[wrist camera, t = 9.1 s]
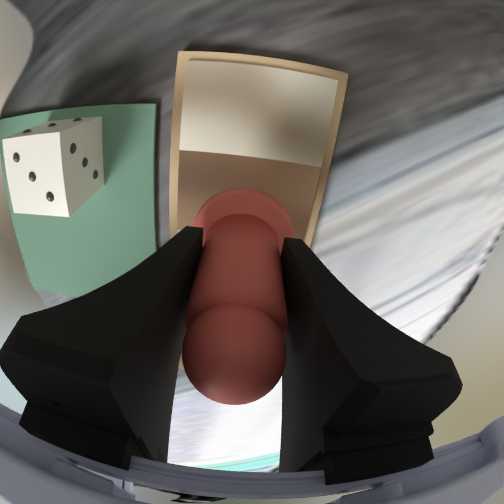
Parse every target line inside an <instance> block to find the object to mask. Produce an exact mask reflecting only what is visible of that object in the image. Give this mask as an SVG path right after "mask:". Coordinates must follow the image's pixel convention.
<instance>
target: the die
mask: <svg viewBox="0 0 504 504" xmlns="http://www.w3.org/2000/svg"><path fill="white" fill-rule="evenodd" d="M2 142H3V152H4V160H5V168H6V174H7V180H8V186H9V192H10V197H11V202H12V206H13V211H14V213H21V214H35V215H48V216H61V217H70V216H71V215H72V214H73V213H74V212H75V211H76V210H77V209H78V208H79V207H81V206H82V205H83V204H84V203H85V202H86V201H87V200H88V199H89V198H91V197H92V196H93V195H94V194H95V193H96V192H97V191H98V190H100V189H101V188H102V187H103V186H104V185H105V184H104V169H103V148H102V116H100V117H85V118H74V119H64V120H55V121H47V122H44V123H41V124H39V125H36V126H33V127H31V128H28V129H26V130H23V131H21V132H18V133H16V134H13V135H11V136H9V137H6V138H4V139H2Z"/></svg>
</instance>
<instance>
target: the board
mask: <svg viewBox="0 0 504 504" xmlns="http://www.w3.org/2000/svg"><path fill="white" fill-rule="evenodd" d="M348 75H349V74H348V73H344V72H341V71H337V70H333V69H328V68H324V67H320V66H315V65H311V64H306V63H300V62H295V61H290V60H284V59H277V58H271V57H263V56H255V55H246V54H236V53H223V52H203V51H179V52H178V60H177V69H176V79H175V89H174V101H173V115H172V131H171V151H170V188H169V228H170V239H171V238H172V237H174V236H175V235H176V234H177V233H178V232H179V231H181V230H182V229H183V228H184V227H186V226H193V223H194V220H195V218H196V215H197V213H198V211H199V209H200V208H201V206H202V205H203V204H204V203H205V202H206V201H207V200H208V199H209V198H210V197H212V196H213V195H215V194H217V193H219V192H221V191H224V190H227V189H231V188H239V187H245V188H253V189H257V190H260V191H263V192H265V193H267V194H269V195H271V196H272V197H274V198H275V199H276V200H278V201H279V202H280V203H281V204H282V205H283V207H284V208H285V210H286V211H287V213H288V215H289V217H290V220H291V224H292V229H293V233H294V238H296V239H302V240H303V241H304V242H305V243H306V244H307V246H308V247H309V248H310V245H311V241H312V237H313V234H314V230H315V226H316V222H317V218H318V214H319V210H320V206H321V202H322V198H323V194H324V190H325V186H326V182H327V177H328V173H329V169H330V164H331V160H332V155H333V151H334V146H335V142H336V137H337V132H338V127H339V123H340V118H341V113H342V107H343V102H344V97H345V92H346V86H347V81H348ZM178 369H179V370H184V366H183V362H182V351H181V356H180V360H179V366H178Z"/></svg>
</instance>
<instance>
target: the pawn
mask: <svg viewBox="0 0 504 504" xmlns="http://www.w3.org/2000/svg"><path fill="white" fill-rule="evenodd" d="M193 227H202V228H204V229H203V248H202V252H201V256H200V259H199V263H198V267H197V271H196V275H195V278H194V282H193V286H192V290H191V294H190V298H189V302H188V306H187V310H186V314H185V327H186V330H187V332H186V334H185V337H184V340H183V344H182V362H183V366H184V370H185V372H186V375H187V377H188V378H189V380H190V382H191V383H192V384H193V386H194V387H195V388H196V389H197V390H198V391H199V392H200V393H202V394H203V395H204V396H206V397H207V398H209V399H211V400H213V401H216V402H219V403H223V404H229V405H241V404H247V403H250V402H253V401H256V400H258V399H260V398H262V397H263V396H265V395H266V394H267V393H269V392H270V391H271V390H272V389H273V388H274V387H275V385H276V384H277V383H278V381H279V380H280V378H281V376H282V374H283V371H284V368H285V364H286V345H285V340H284V337H285V335H286V333H287V329H288V320H287V310H286V301H285V292H284V283H283V274H282V265H281V257H280V256H281V251H282V247H283V242H284V237H288V238H294V233H293V229H292V224H291V220H290V217H289V215H288V213H287V211H286V210H285V208H284V207H283V205H282V204H281V203H280V202H279V201H278V200H276V199H275V198H274V197H272V196H271V195H269V194H267V193H265V192H263V191H260V190H257V189H253V188H245V187H239V188H231V189H227V190H224V191H221V192H219V193H217V194H215V195H213V196H212V197H210V198H209V199H208V200H207V201H206V202H205V203H204V204H203V205H202V206H201V208H200V209H199V211H198V213H197V215H196V218H195V220H194V223H193Z"/></svg>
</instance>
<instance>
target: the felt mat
mask: <svg viewBox="0 0 504 504" xmlns="http://www.w3.org/2000/svg"><path fill="white" fill-rule="evenodd" d="M100 116H102V148H103V169H104V184H105V185H104V186H103V187H102V188H101V189H100V190H98V191H97V192H96V193H95V194H94V195H93V196H92V197H91V198H89V199H88V200H87V201H86V202H85V203H84V204H83V205H82V206H81V207H79V208H78V209H77V210H76V211H75V212H74V213H73V214H72V215H71V216H70V217H61V216H48V215H35V214H21V213H14V211H13V206H12V202H11V197H10V192H9V186H8V180H7V174H6V168H5V160H4V152H3V142H2V139H4V138H6V137H9V136H11V135H13V134H16V133H18V132H21V131H23V130H26V129H28V128H31V127H33V126H36V125H39V124H41V123H44V122H47V121H55V120H64V119H74V118H85V117H100ZM156 120H157V103H139V104H110V105H95V106H83V107H73V108H64V109H56V110H49V111H42V112H36V113H30V114H24V115H19V116H14V117H9V118H4V119H0V154H1V162H2V169H3V176H4V182H5V188H6V193H7V198H8V202H9V208H10V212H11V216H12V220H13V225H14V228H15V232H16V236H17V239H18V243H19V246H20V250H21V253H22V256H23V259H24V262H25V265H26V268H27V271H28V274H29V277H30V280H31V282H32V285H33V288H37V289H41V290H45V291H49V292H53V293H58V294H62V295H67V296H71V297H76V298H77V297H80V296H82V295H85V294H87V293H89V292H91V291H93V290H95V289H97V288H99V287H101V286H103V285H105V284H107V283H109V282H111V281H113V280H114V279H116V278H118V277H119V276H121V275H123V274H124V273H126V272H128V271H129V270H131V269H132V268H134V267H135V266H137V265H138V264H140V263H141V262H142V261H144V260H145V259H146V258H148V257H149V256H150V255H152V254H153V253H154V252H156V251H157V239H156V213H155V146H156Z"/></svg>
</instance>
